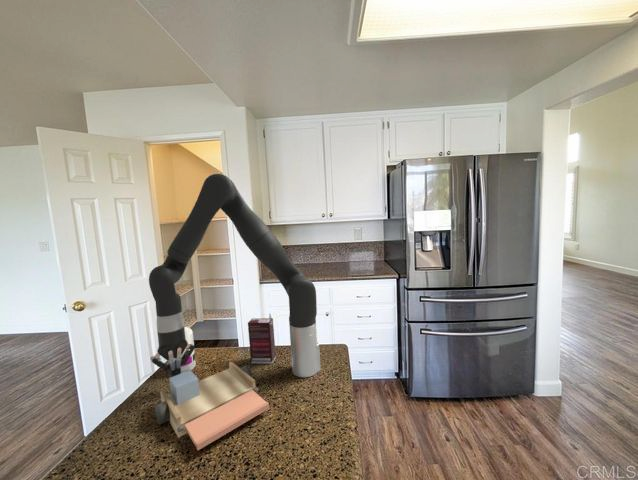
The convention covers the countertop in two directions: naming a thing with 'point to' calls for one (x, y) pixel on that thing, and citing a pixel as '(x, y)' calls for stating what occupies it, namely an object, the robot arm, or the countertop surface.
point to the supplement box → (261, 340)
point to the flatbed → (205, 397)
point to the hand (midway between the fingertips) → (176, 379)
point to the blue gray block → (184, 387)
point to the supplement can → (191, 361)
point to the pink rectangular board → (225, 418)
